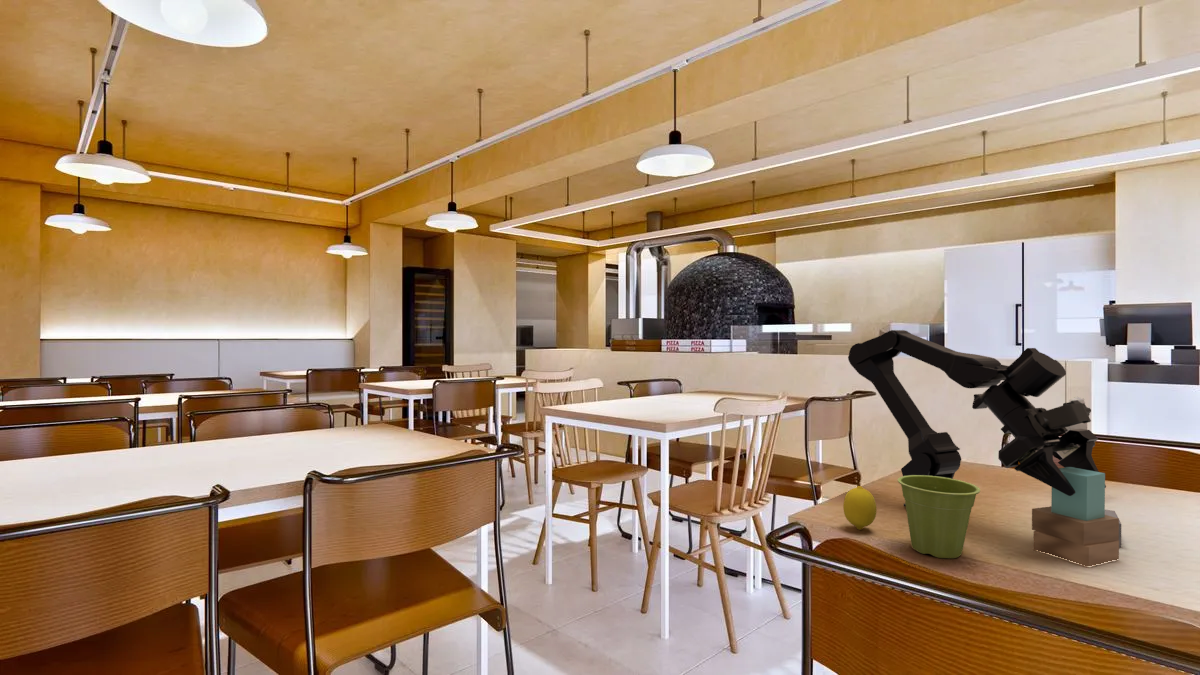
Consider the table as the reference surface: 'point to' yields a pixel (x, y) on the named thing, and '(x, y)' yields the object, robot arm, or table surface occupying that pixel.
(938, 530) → the plant pot
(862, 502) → the lemon
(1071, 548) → the tower lower
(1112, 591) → the table surface
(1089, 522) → the tower upper
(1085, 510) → the teal block
